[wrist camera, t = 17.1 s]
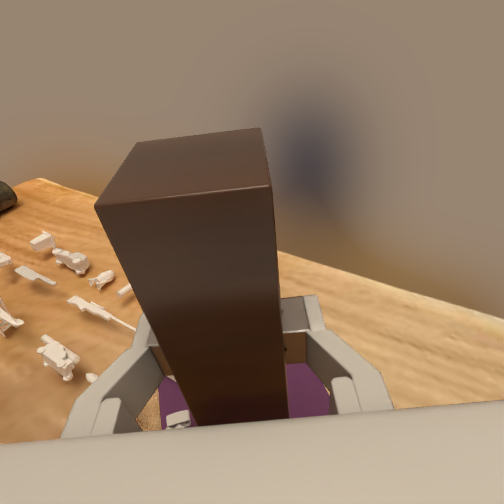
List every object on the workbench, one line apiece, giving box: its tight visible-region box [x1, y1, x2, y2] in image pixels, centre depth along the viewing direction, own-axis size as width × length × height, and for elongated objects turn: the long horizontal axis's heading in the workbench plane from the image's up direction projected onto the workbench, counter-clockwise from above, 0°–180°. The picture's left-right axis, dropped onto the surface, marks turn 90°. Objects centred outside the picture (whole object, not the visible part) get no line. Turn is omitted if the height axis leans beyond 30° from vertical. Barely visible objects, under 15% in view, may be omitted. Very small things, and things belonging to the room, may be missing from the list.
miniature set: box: [0, 231, 191, 429], centre depth 31 cm, size 6×35×12 cm
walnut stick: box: [94, 128, 290, 427], centre depth 12 cm, size 4×4×15 cm
